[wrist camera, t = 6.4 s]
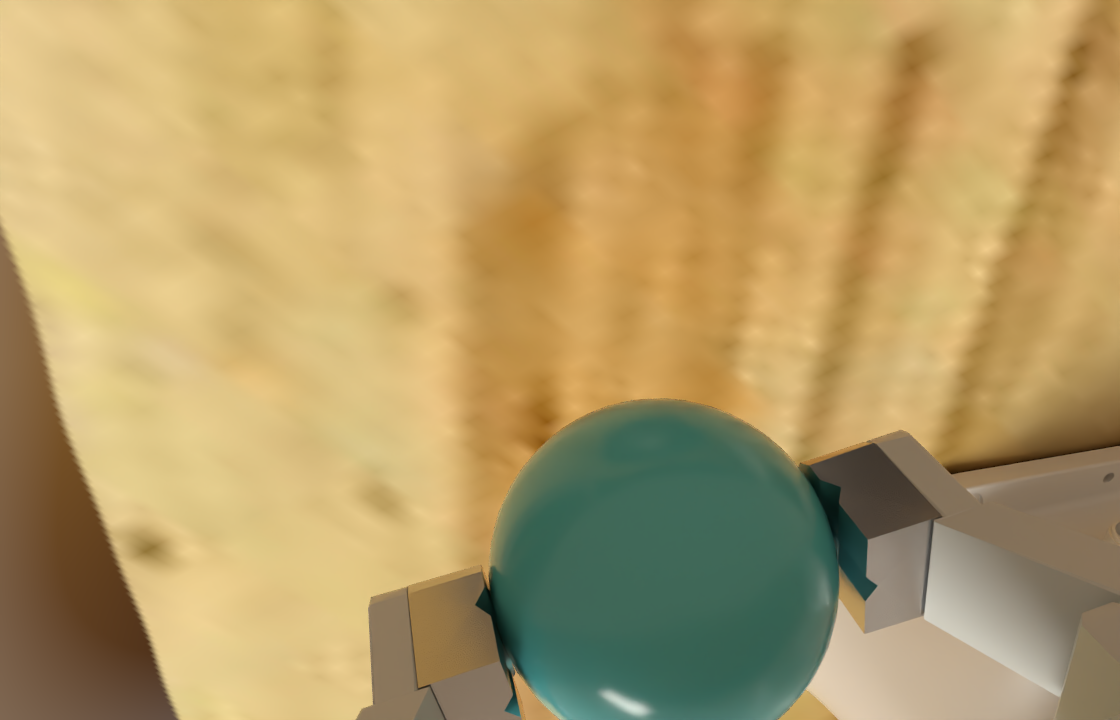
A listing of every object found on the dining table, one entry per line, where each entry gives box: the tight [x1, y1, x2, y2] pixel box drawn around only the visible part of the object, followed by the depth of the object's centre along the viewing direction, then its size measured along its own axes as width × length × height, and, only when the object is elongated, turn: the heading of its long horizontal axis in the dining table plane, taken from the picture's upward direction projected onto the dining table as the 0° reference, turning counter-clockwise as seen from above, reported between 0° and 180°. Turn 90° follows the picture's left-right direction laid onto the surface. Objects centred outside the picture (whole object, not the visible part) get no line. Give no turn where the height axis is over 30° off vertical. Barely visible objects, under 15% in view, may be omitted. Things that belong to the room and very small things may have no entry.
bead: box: [489, 399, 840, 720], centre depth 11 cm, size 4×4×4 cm
